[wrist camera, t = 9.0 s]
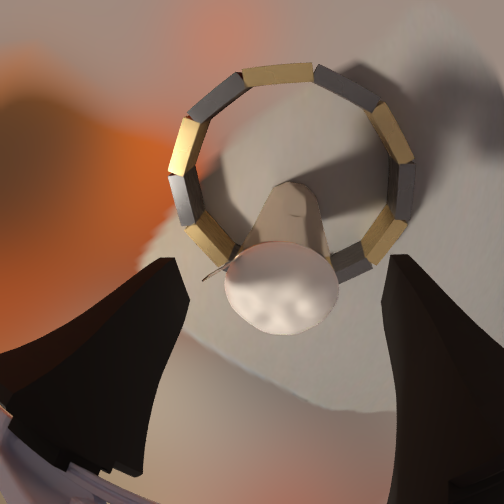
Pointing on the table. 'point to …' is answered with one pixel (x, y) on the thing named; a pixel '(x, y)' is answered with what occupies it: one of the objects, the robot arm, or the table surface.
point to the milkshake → (283, 266)
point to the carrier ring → (238, 83)
